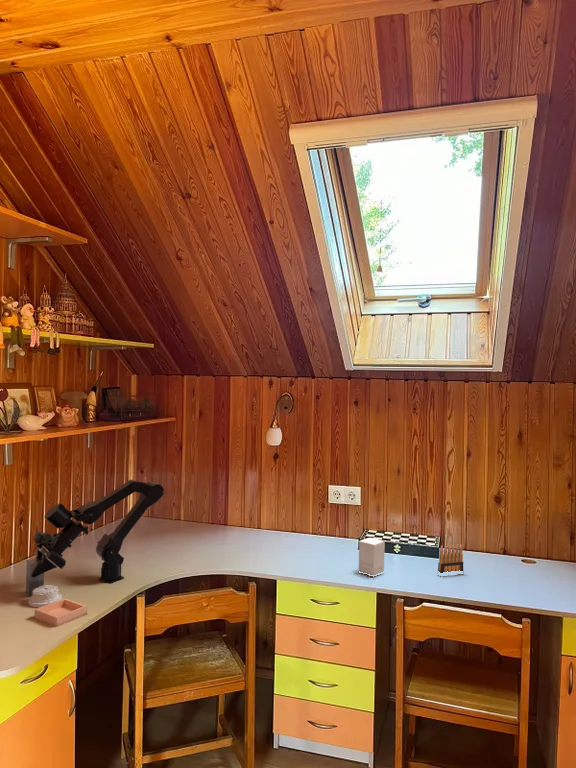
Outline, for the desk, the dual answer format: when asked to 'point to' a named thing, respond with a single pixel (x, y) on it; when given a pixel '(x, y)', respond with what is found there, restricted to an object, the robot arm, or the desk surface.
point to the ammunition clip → (450, 559)
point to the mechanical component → (44, 596)
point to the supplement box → (371, 556)
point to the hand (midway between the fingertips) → (30, 574)
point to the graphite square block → (30, 581)
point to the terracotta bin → (60, 612)
